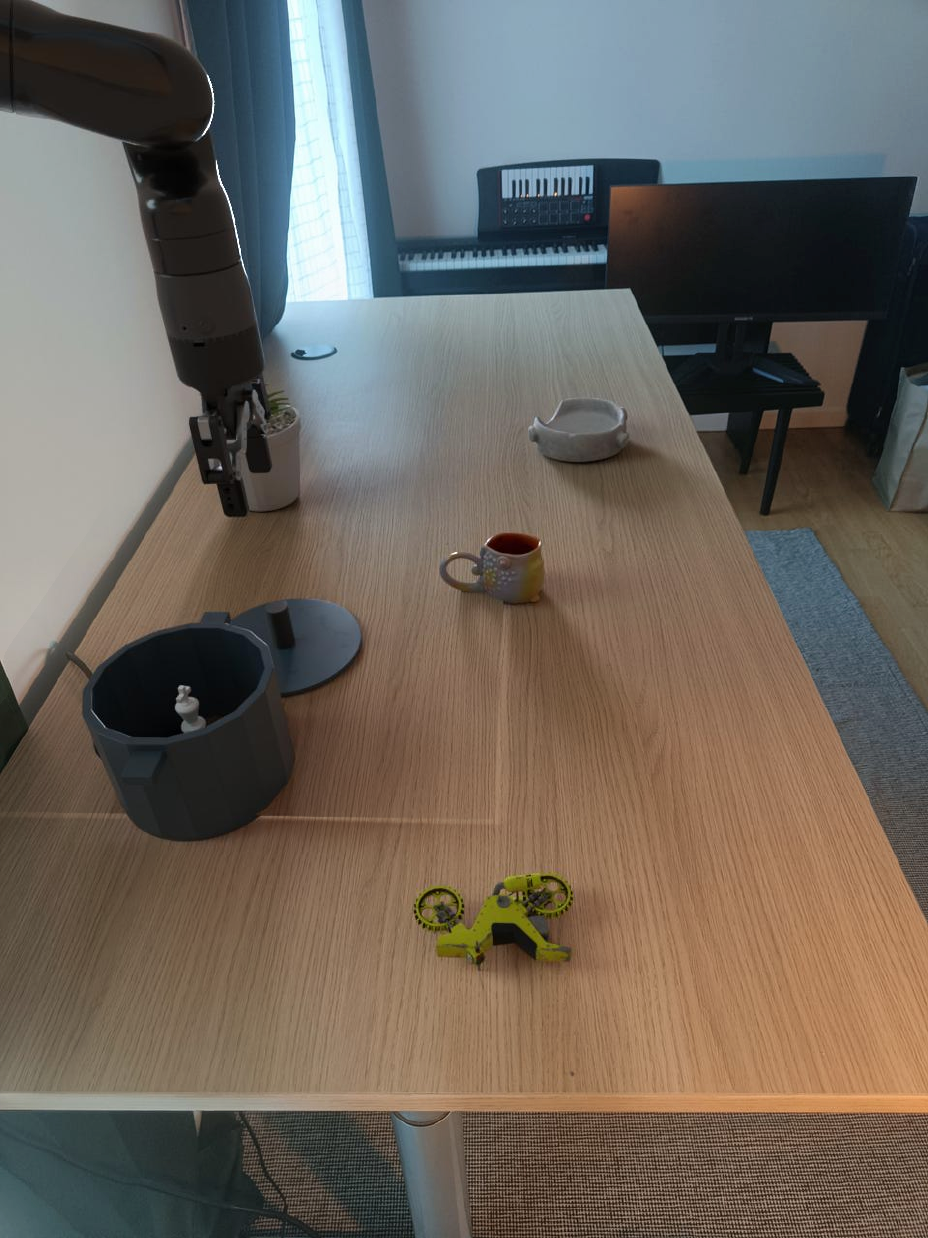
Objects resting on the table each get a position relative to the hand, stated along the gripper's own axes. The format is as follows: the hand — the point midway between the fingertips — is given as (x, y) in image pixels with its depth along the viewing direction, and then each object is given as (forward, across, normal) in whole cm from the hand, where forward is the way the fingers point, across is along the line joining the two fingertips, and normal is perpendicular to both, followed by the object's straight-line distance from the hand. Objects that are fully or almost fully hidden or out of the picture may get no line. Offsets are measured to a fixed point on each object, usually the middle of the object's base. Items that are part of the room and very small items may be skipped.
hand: (250, 492), depth 82 cm
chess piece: (+19, +18, -3) cm, 26 cm away
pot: (+19, +18, -3) cm, 26 cm away
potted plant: (+20, -34, -11) cm, 41 cm away
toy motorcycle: (+20, +34, +24) cm, 46 cm away
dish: (+20, -49, +34) cm, 63 cm away
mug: (+20, -11, +22) cm, 32 cm away
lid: (+19, 0, 0) cm, 19 cm away
